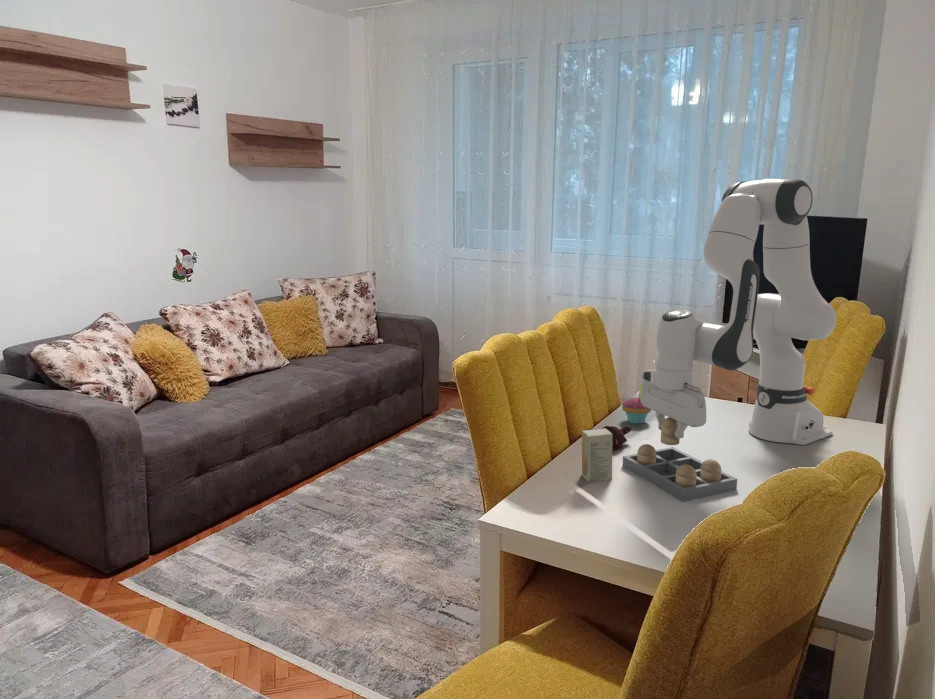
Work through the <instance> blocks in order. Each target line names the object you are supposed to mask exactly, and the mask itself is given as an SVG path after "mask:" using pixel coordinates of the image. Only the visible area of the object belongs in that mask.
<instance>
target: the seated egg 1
mask: <svg viewBox="0 0 935 699" xmlns="http://www.w3.org/2000/svg"><path fill="white" fill-rule="evenodd" d="M656 450H657V449H656V448H655V447H654V446H653V445H651V444H648V443H646V444H642V445H640V446H639V447H638V449H637V452H636V454H637V462H639V463H640V464H642V465H649V464H655V463H656Z"/></svg>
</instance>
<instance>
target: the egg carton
mask: <svg viewBox="0 0 935 699" xmlns="http://www.w3.org/2000/svg"><path fill="white" fill-rule="evenodd" d="M655 450H656V463H655V464H649V465H642V464H640V463H639V462H637V453H634V454H628V455H627V454H626V455H623V456H622V467H623V468H625V469H627V470H629V471H630V472H632V473H634V474H635V475H637V476H638V477H639V478H642V479H644V480H645V481H647V482H649V483H651V484H652V485H654V486H656V488H659V489H661V490H662V491H664V492H666V493H668V494H669V495H671V496H672V497H674V498H676V499H678V500H679V501H681V502H687V501H691V500H692V501H693V500H697V499H700V498H705V497H709V496H714V495H718V494H722V493H723V494H724V493H727V492H733V491H737V490H738V489H737V488H738V478H736V477H734V476H733V475H730V474H728V473H727V472H724V471H722V470H721V480H719V481H715V482H710V483H709V482H707V481H705V480H704V479H702V478H700V471H701V465H702V463H703V462H704V461H702V460H700V459H698V458H695V457H694V456H692V455H690V454H688V453H686V452H684V451H682V450H680V449H678V448H676V447H673V446H670V447H665V448H659V449H655ZM684 464H688V465H691V466H692V467H693V468H694V469H695V471H696V474H697V476H696V486H691V487H687V488H683V487H681V486H679V485H678V484H676V483H675V479H676V470H677V468H678V467H679V466H681V465H684Z"/></svg>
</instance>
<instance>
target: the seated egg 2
mask: <svg viewBox="0 0 935 699" xmlns="http://www.w3.org/2000/svg"><path fill="white" fill-rule="evenodd" d="M696 476H697V474H696V471H695V469H694V468H693V467H692V466H691V465H688V464H684V465H681V466H679V467H678V468H677V470H676V479H675V483H676V484H678V485H679V486H681V487H683V488H687V487H691V486H696Z"/></svg>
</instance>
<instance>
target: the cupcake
mask: <svg viewBox="0 0 935 699" xmlns="http://www.w3.org/2000/svg"><path fill="white" fill-rule="evenodd" d="M641 384H642V382H641V383H640V386H639V394H638V397H634V396H633V397H631V398H629V399H626V400H625V401H623V403H622V407H621V408H622V411H624V412H625V415H626V417H627V420H628V422H630V423H631V424H636V423H640V424H644V423H645V422H644V421H646V418H647V416H648V414H649V413H651V411H652V410H651V409H649V408H647V407H644V406H643V405H642V403H641ZM643 422H644V423H643Z"/></svg>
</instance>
